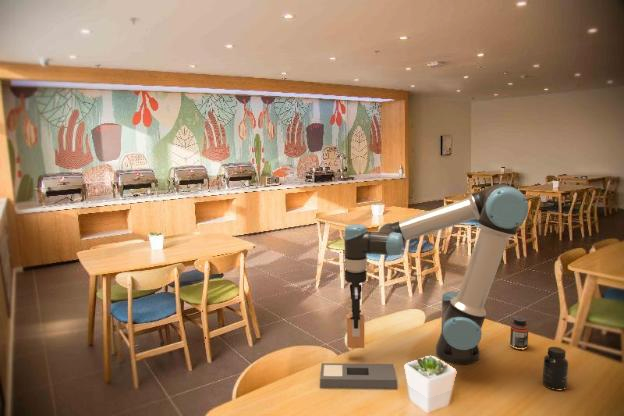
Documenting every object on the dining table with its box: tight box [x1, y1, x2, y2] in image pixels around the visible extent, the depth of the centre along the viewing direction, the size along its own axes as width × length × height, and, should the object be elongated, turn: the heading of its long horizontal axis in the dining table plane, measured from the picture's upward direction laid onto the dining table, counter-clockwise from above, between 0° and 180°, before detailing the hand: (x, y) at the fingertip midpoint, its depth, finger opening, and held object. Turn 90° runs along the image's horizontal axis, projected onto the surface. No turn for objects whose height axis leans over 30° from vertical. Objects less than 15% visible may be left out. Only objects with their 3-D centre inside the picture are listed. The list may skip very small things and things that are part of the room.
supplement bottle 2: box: [542, 346, 569, 389], centre depth 139 cm, size 7×7×12 cm
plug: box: [346, 313, 365, 349], centre depth 157 cm, size 6×4×11 cm, turn 86°
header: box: [319, 362, 398, 390], centre depth 144 cm, size 24×10×4 cm, turn 86°
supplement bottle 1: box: [509, 316, 529, 348], centre depth 165 cm, size 6×6×11 cm
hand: (355, 333), depth 157 cm, fingers closed on plug, 3 cm apart
